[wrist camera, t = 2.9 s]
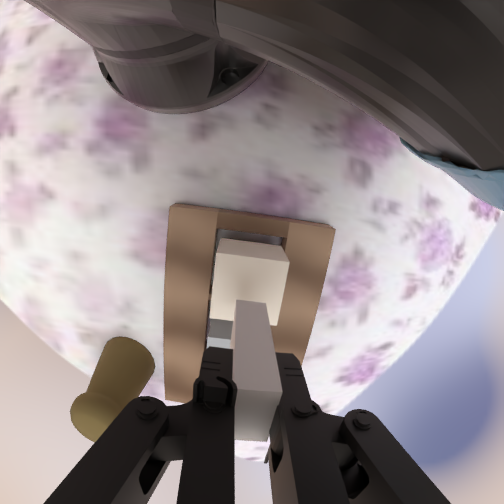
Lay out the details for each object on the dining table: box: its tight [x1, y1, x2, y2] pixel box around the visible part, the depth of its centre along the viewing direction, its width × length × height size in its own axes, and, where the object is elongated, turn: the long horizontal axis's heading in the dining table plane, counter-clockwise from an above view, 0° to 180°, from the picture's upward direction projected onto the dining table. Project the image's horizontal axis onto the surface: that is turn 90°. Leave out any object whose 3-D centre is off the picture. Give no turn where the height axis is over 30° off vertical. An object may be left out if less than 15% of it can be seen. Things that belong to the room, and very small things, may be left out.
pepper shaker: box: [70, 337, 155, 442], centre depth 22 cm, size 6×6×11 cm
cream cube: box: [209, 238, 290, 326], centre depth 20 cm, size 4×4×4 cm
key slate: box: [207, 318, 233, 349], centre depth 22 cm, size 4×4×4 cm
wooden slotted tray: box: [164, 203, 336, 403], centre depth 25 cm, size 20×13×2 cm, turn 172°
